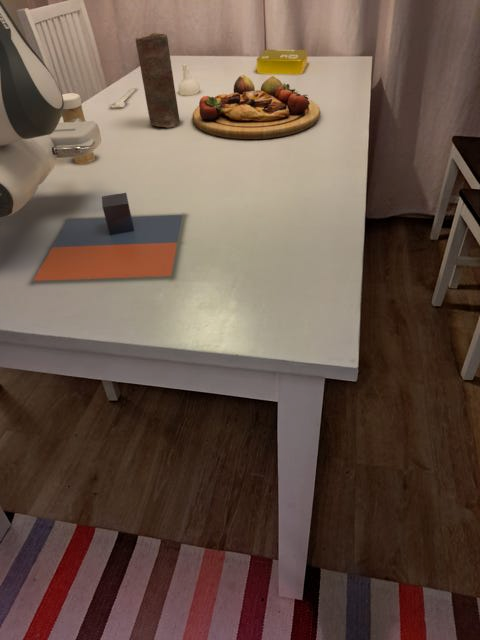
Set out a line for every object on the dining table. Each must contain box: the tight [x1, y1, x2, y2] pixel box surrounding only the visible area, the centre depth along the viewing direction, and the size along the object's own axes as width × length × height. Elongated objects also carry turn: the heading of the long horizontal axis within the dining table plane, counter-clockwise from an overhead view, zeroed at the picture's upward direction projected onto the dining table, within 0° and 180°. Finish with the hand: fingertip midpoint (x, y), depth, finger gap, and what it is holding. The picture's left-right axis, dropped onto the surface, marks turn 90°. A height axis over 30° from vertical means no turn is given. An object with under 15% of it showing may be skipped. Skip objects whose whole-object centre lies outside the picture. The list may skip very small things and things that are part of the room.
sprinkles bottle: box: [61, 92, 96, 165], centre depth 97 cm, size 5×5×13 cm
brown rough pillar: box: [135, 32, 181, 128], centre depth 110 cm, size 8×7×20 cm
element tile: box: [256, 48, 308, 75], centre depth 153 cm, size 15×15×5 cm
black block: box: [101, 192, 134, 235], centre depth 76 cm, size 4×4×5 cm
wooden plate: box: [192, 74, 321, 140], centre depth 115 cm, size 32×32×8 cm
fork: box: [109, 87, 136, 108], centre depth 134 cm, size 3×20×2 cm, turn 174°
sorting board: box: [33, 214, 183, 282], centre depth 74 cm, size 20×18×1 cm
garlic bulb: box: [177, 63, 201, 97], centre depth 135 cm, size 6×6×8 cm
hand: (52, 124), depth 85 cm, fingers open, 8 cm apart
